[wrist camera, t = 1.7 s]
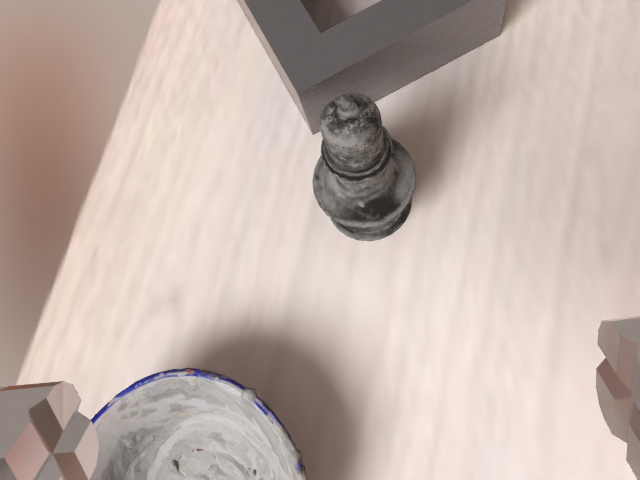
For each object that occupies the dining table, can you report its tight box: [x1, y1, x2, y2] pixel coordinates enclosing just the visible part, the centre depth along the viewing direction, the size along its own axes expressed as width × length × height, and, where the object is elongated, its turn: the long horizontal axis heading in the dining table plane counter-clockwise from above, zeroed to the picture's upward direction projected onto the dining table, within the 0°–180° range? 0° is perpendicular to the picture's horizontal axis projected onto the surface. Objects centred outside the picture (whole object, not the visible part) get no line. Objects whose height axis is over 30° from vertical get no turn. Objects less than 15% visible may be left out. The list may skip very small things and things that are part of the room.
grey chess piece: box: [313, 92, 416, 241], centre depth 30 cm, size 6×6×12 cm
